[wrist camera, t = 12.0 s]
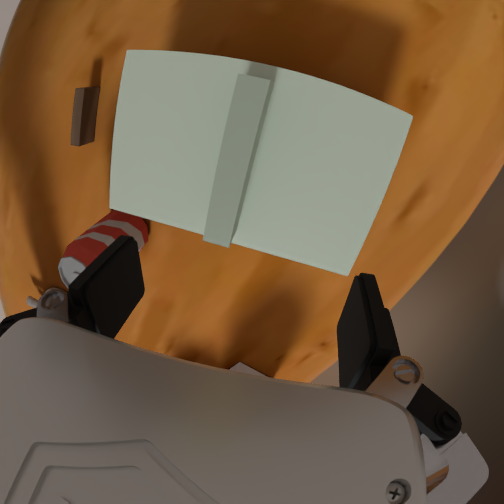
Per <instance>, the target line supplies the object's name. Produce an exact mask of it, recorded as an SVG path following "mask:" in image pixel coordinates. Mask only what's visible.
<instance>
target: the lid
mask: <svg viewBox="0 0 504 504" xmlns="http://www.w3.org/2000/svg"><path fill="white" fill-rule="evenodd" d="M412 118H413V116H412V115H410V114H408V113H406V112H404V111H402V110H400V109H397V108H395V107H393V106H391V105H389V104H386V103H384V102H382V101H379V100H377V99H375V98H372V97H370V96H367V95H365V94H362V93H360V92H357V91H355V90H352V89H349V88H346V87H344V86H341V85H338V84H335V83H332V82H329V81H326V80H323V79H320V78H316V77H313V76H310V75H306V74H303V73H299V72H296V71H292V70H288V69H284V68H280V67H276V66H271V65H267V64H262V63H258V62H253V61H247V60H242V59H236V58H230V57H223V56H216V55H209V54H200V53H190V52H178V51H160V50H127V53H126V58H125V62H124V67H123V72H122V78H121V83H120V89H119V95H118V102H117V109H116V116H115V125H114V134H113V144H112V157H111V173H110V208H111V209H114V210H118V211H121V212H125V213H128V214H132V215H135V216H139V217H143V218H146V219H150V220H153V221H157V222H160V223H164V224H167V225H171V226H174V227H178V228H181V229H185V230H188V231H192V232H195V233H199V234H202V235H204V236H203V241H207V242H210V243H214V244H217V245H221V246H224V247H228V248H229V246H230V244H231V243H234V244H237V245H241V246H244V247H248V248H251V249H255V250H258V251H262V252H265V253H269V254H272V255H276V256H279V257H283V258H286V259H290V260H293V261H297V262H300V263H304V264H307V265H310V266H314V267H317V268H321V269H324V270H328V271H331V272H335V273H338V274H342V275H345V276H348V274H349V272H350V270H351V268H352V266H353V264H354V262H355V260H356V258H357V256H358V254H359V252H360V250H361V247H362V245H363V243H364V241H365V239H366V237H367V235H368V232H369V230H370V228H371V226H372V223H373V221H374V219H375V217H376V214H377V212H378V210H379V207H380V205H381V202H382V200H383V198H384V195H385V193H386V190H387V188H388V185H389V183H390V180H391V178H392V175H393V172H394V170H395V167H396V165H397V162H398V159H399V156H400V154H401V151H402V148H403V145H404V142H405V139H406V136H407V133H408V130H409V127H410V124H411V121H412Z"/></svg>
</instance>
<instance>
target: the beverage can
mask: <svg viewBox="0 0 504 504" xmlns="http://www.w3.org/2000/svg"><path fill="white" fill-rule="evenodd" d="M120 235H127V236H132V237H134V239H135V240H136V241H137V243H138V250H139V252H140V251H141V249H142V248H143V247H144V245H145V244H146V243H147V241H148V230H147V225H146V224H145V222H144V221H143V219H142V218H141V217H139V216H135V215H132V214H128V213H125V212H121V211H118V210H113V211H112V212H110V213H109V214H108V215H106V216H105V217H104V218H102V219H101V220H100V221H98V222H97V223H96V224H94V225H93V226H92V227H91V228H89V229H88V230H87V231H85V232H84V233H83V234H82V235H80V236H79V237H78V238H77V239H75V240H74V241H73V242H72V243H70V244H69V245H68V246H67V248H66V251H65V253H64V256H63V257H62V258H61V260H60V263H59V266H58V269H59V273H60V276H61V279H62V281H63V283H64V284H65V285H66V286H67V288H68V286H69V285H70V284H71V283H72V281H73V280H74V279H75V278H76V277H77V276H78V275H79V274H80V273H81V272H82V271H83V270H84V269H85V268H86V267H87V266H88V265H89V264H90V263H91V262H92V261H93V260H94V259H95V258H97V257H98V256H99V255H100V254H101V253H102V252H103V251H104V250H105V249H106V248H107V247H108V246H109V245H110V244H111V243H112V242H113V241H115V240H116V239H117V238H118V237H119V236H120Z"/></svg>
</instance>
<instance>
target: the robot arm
mask: <svg viewBox="0 0 504 504" xmlns="http://www.w3.org/2000/svg"><path fill="white" fill-rule="evenodd" d="M68 289H69V292H68V293H67V292H65V291H64V290H62V289H59V288H54V287H53V288H49V289H48V290H47V291H46V292H45V293H44V294H43V295H42V296H41V297H40V299H39V301H38V300H37V299H35V298H33V297H32V296H29V297H28V298H27V304H28V305H30V306H32V307H34V309H31V310H28V311H24V312H21V313H18V314H15V315H11V316H9V317H6V318H5V319H3V321H2V322H1V323H0V504H466V503H467V502H468V501H469V500H470V499H471V498H472V497H473V495H474V494H475V493H476V492H477V491H478V490H479V489H480V488H481V487H482V486H483V485H484V483H485V482H486V480H487V478H488V474H489V473H488V466H487V464H486V462H485V461H484V459H483V458H482V456H481V454H480V453H479V451H478V450H477V448H476V447H475V445H474V444H473V443H472V441H471V440H470V438H469V437H468V435H467V434H466V433H465V434H462V433H461V431H460V430H461V425H462V423H461V418H460V416H459V414H458V412H457V411H456V410H455V409H454V408H452V407H451V406H450V405H449V404H447V403H446V402H445V401H443V400H442V399H441V398H440V397H439V396H437V395H436V394H435V393H434V392H432V391H431V390H430V389H429V388H427V387H426V386H425V385H424V384H422V382H423V379H424V372H423V370H422V367H421V366H420V365H419V363H418V362H416V361H415V360H414V359H412V358H410V357H407V356H401V355H400V350H399V346H398V342H397V338H396V334H395V330H394V327H393V323H392V319H391V316H390V312H389V310H388V309H387V308H384V305H383V302H382V298H381V295H380V291H379V288H378V285H377V281H376V278H375V276H374V275H373V274H366V273H360V275H359V276H355V277H354V280H353V283H352V286H351V289H350V292H349V295H348V297H347V300H346V303H345V306H344V308H343V311H342V314H341V316H340V319H339V322H338V325H337V341H338V359H339V383H340V387H334V386H327V385H319V384H311V383H304V382H297V381H290V380H283V379H276V378H270V377H264V376H258V375H252V374H247V373H242V372H237V371H232V370H227V369H222V368H217V367H213V366H208V365H204V364H200V363H196V362H191V361H187V360H183V359H180V358H176V357H172V356H168V355H165V354H161V353H157V352H154V351H151V350H147V349H144V348H140V347H137V346H134V345H131V344H127V343H124V342H121V341H118V340H115V339H114V338H115V336H116V335H117V333H118V332H119V330H120V329H121V327H122V326H123V324H124V323H125V321H126V320H127V318H128V317H129V315H130V314H131V312H132V311H133V310H134V308H135V307H136V305H137V304H138V302H139V301H140V299H141V298H142V297H143V295H144V291H145V287H144V282H143V276H142V270H141V263H140V257H139V250H138V243H137V241H136V240H135V239H134V237H132V236H127V235H120V236H119V237H118V238H117V239H116V240H115V241H113V242H112V243H111V244H110V245H109V246H108V247H107V248H106V249H105V250H104V251H103V252H102V253H101V254H100V255H99V256H98V257H97V258H95V259H94V260H93V261H92V262H91V263H90V264H89V265H88V266H87V267H86V268H85V269H84V270H83V271H82V272H81V273H80V274H79V275H78V276H77V277H76V278H75V279H74V280H73V281H72V283H71V284H70V285H69V286H68Z"/></svg>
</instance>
